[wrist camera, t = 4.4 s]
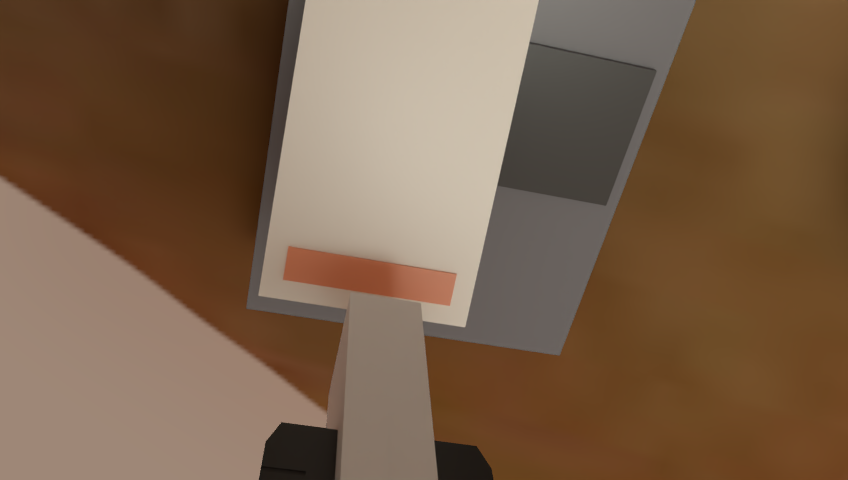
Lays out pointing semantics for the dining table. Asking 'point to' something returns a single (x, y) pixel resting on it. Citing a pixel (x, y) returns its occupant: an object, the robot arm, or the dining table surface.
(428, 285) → the small box
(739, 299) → the dining table surface
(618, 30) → the rocker switch panel
